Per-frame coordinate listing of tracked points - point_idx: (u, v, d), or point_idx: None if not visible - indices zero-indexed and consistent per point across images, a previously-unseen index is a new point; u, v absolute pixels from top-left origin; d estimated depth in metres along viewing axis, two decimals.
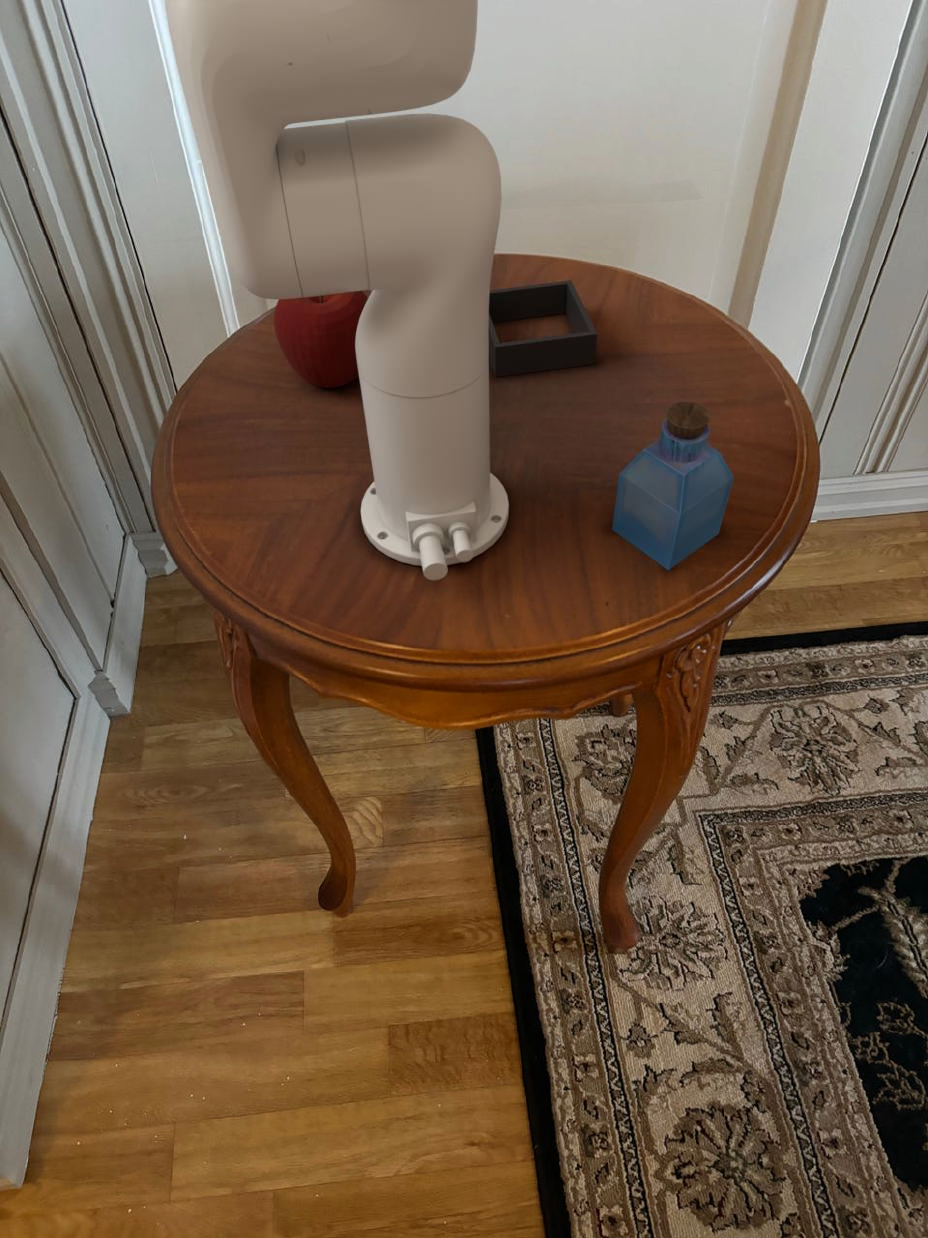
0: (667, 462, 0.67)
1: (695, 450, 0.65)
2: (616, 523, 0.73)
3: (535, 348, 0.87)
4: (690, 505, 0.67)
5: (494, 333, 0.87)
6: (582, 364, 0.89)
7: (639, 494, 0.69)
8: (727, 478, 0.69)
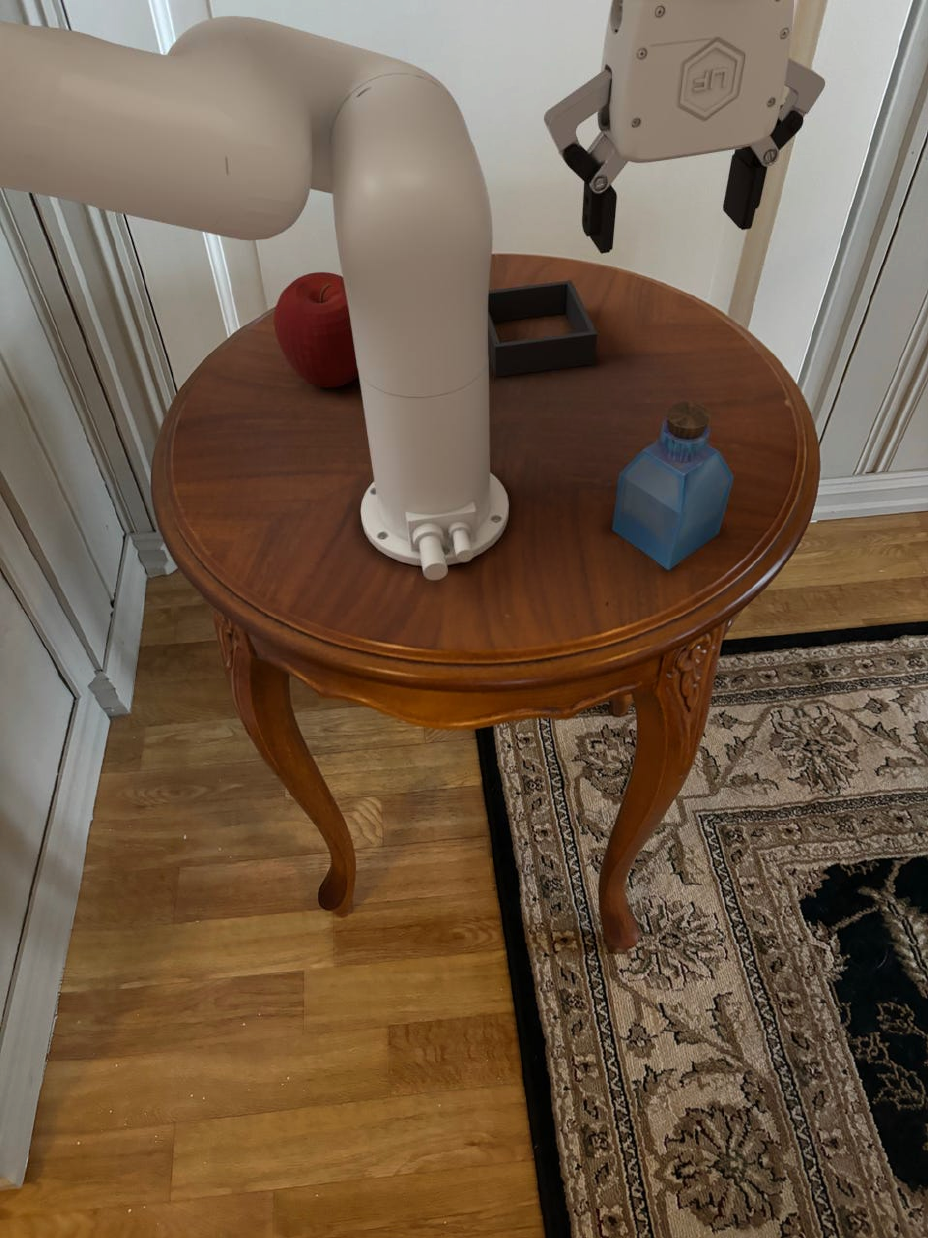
0: (667, 462, 0.67)
1: (695, 450, 0.65)
2: (616, 523, 0.73)
3: (535, 348, 0.87)
4: (690, 505, 0.67)
5: (494, 333, 0.87)
6: (582, 364, 0.89)
7: (639, 495, 0.69)
8: (727, 478, 0.69)
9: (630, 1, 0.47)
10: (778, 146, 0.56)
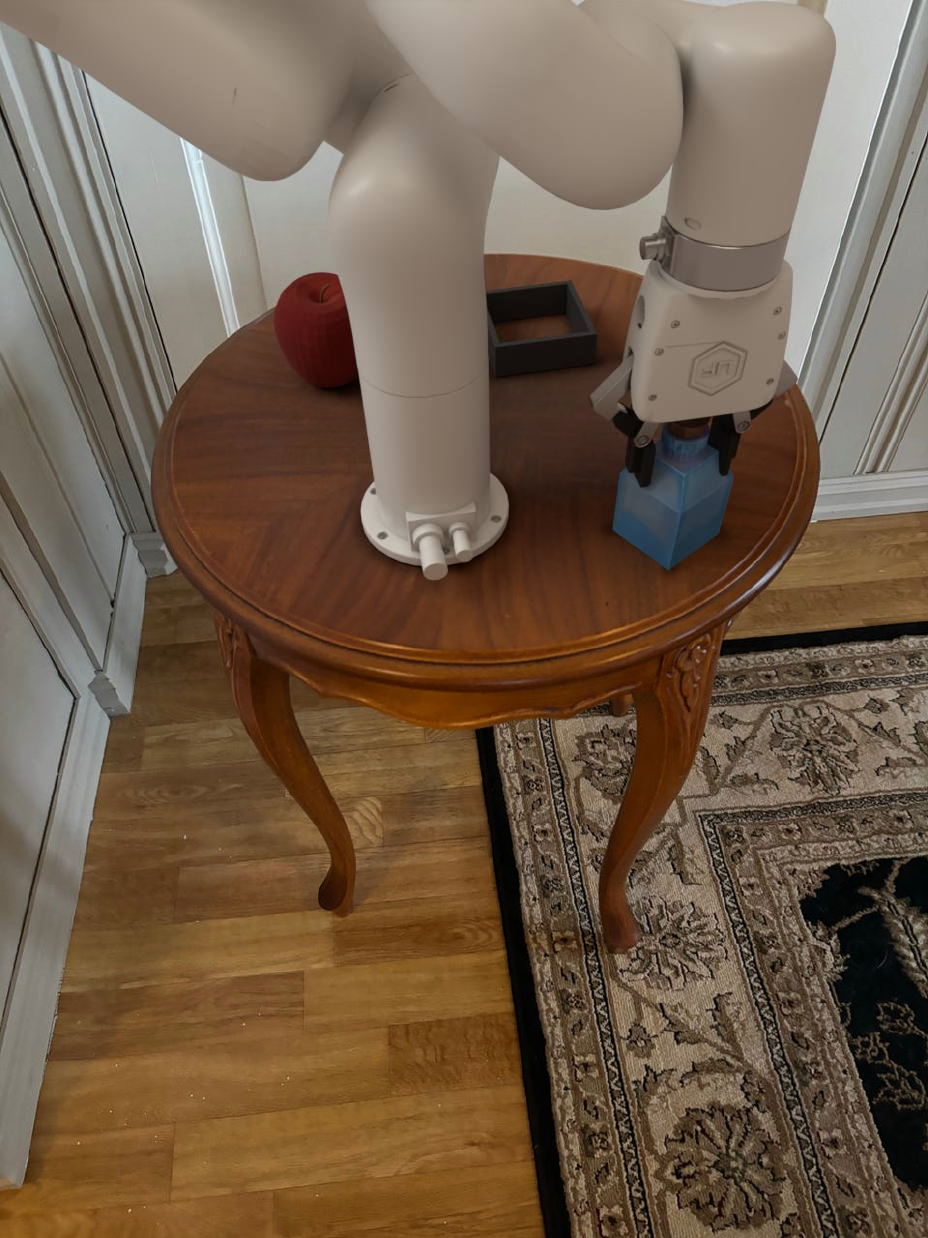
0: (667, 462, 0.67)
1: (695, 450, 0.65)
2: (616, 523, 0.73)
3: (535, 348, 0.87)
4: (691, 505, 0.67)
5: (494, 333, 0.87)
6: (582, 364, 0.89)
7: (639, 494, 0.69)
8: (727, 478, 0.69)
9: (651, 313, 0.56)
10: (751, 417, 0.65)
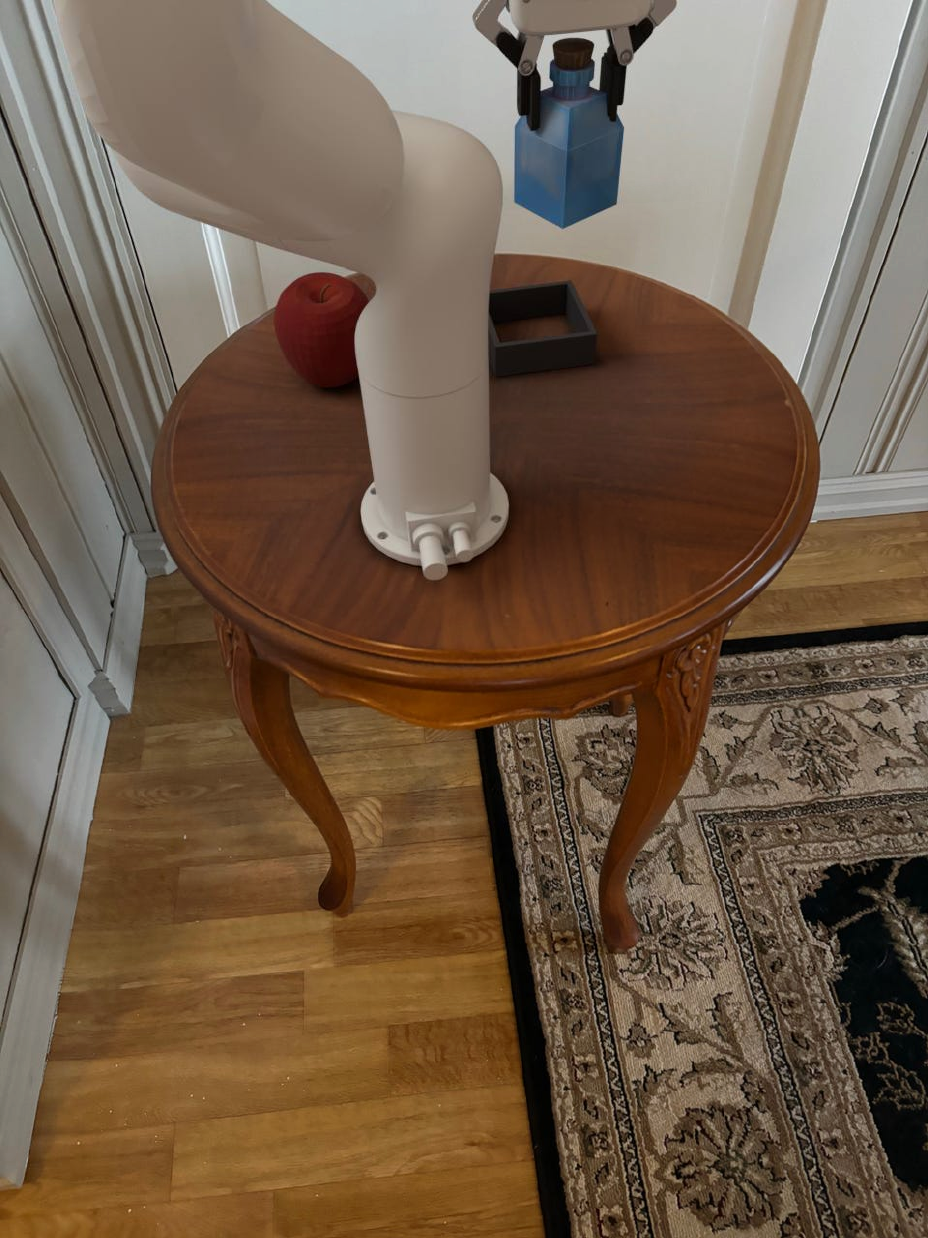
0: (555, 100, 0.69)
1: (580, 82, 0.67)
2: (516, 191, 0.76)
3: (535, 348, 0.87)
4: (578, 144, 0.69)
5: (494, 333, 0.87)
6: (582, 364, 0.89)
7: (532, 145, 0.71)
8: (617, 126, 0.71)
9: None
10: (634, 48, 0.67)
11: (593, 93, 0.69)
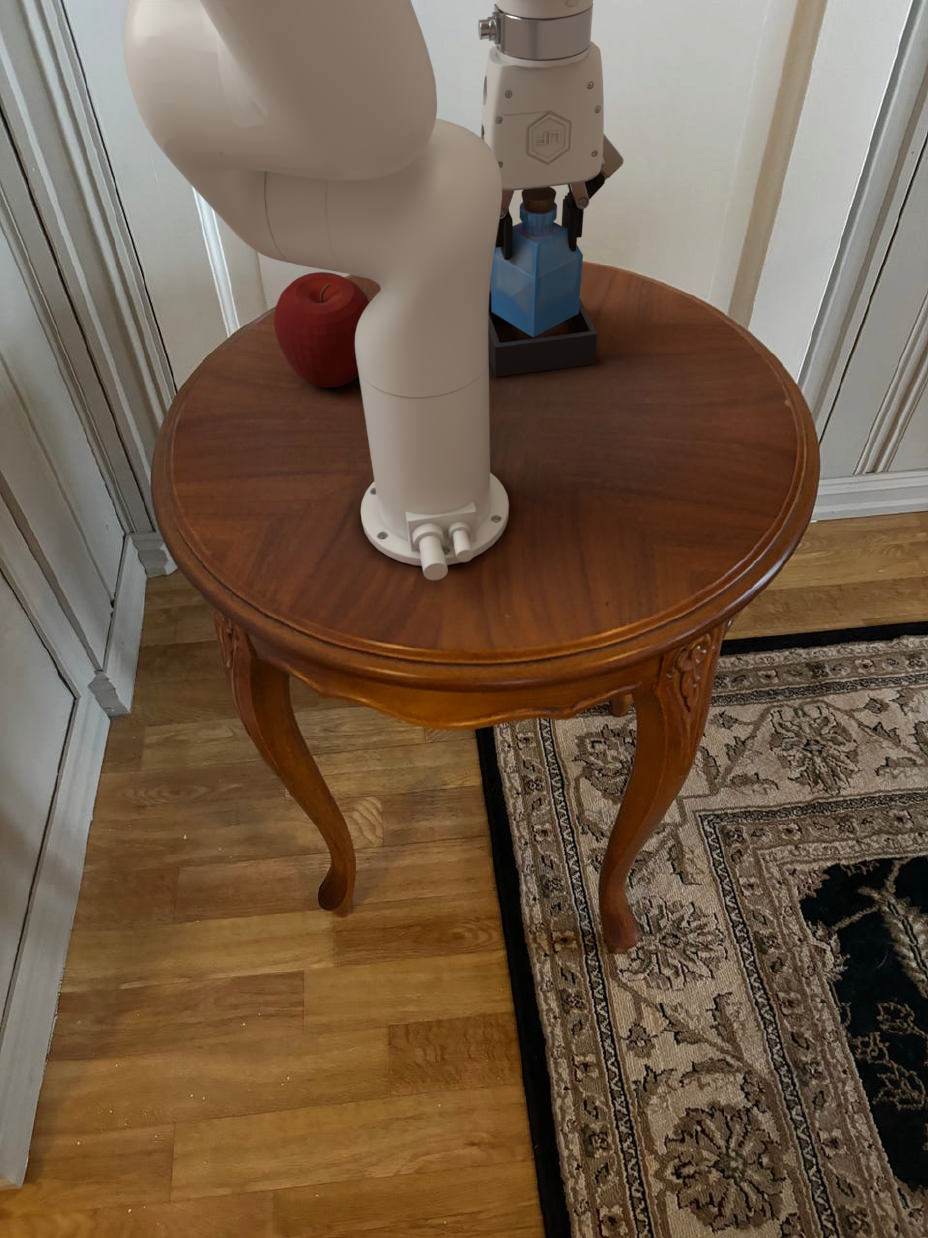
0: (524, 236, 0.82)
1: (545, 223, 0.81)
2: (493, 303, 0.89)
3: (535, 348, 0.87)
4: (544, 272, 0.82)
5: (494, 333, 0.87)
6: (582, 364, 0.89)
7: (506, 269, 0.85)
8: (577, 254, 0.84)
9: (490, 86, 0.71)
10: (589, 195, 0.80)
11: (556, 229, 0.83)
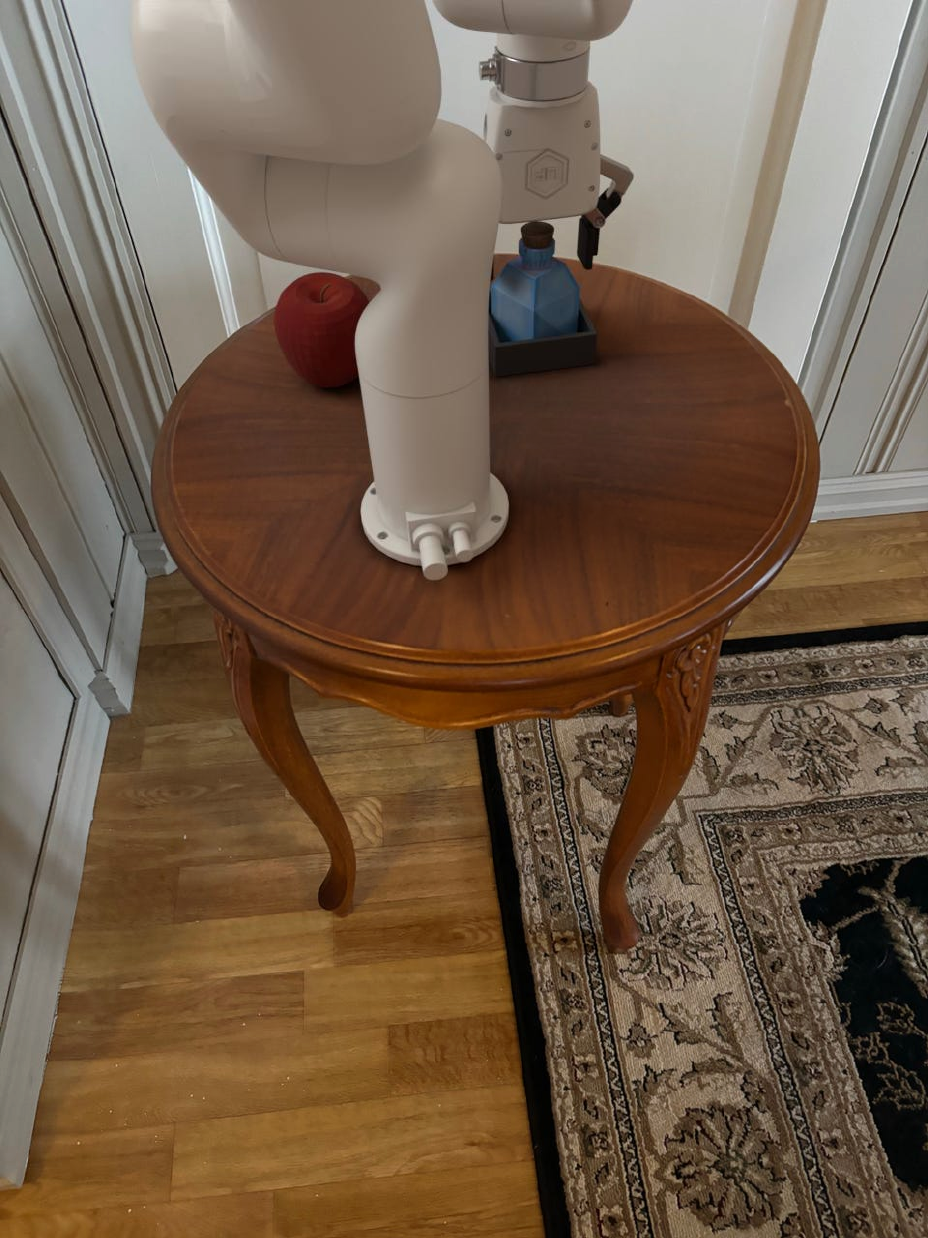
0: (523, 270, 0.85)
1: (543, 258, 0.83)
2: None
3: (535, 348, 0.87)
4: (542, 305, 0.85)
5: (494, 333, 0.87)
6: (582, 364, 0.89)
7: (505, 301, 0.87)
8: (574, 287, 0.87)
9: (490, 124, 0.74)
10: (605, 215, 0.82)
11: (554, 263, 0.85)
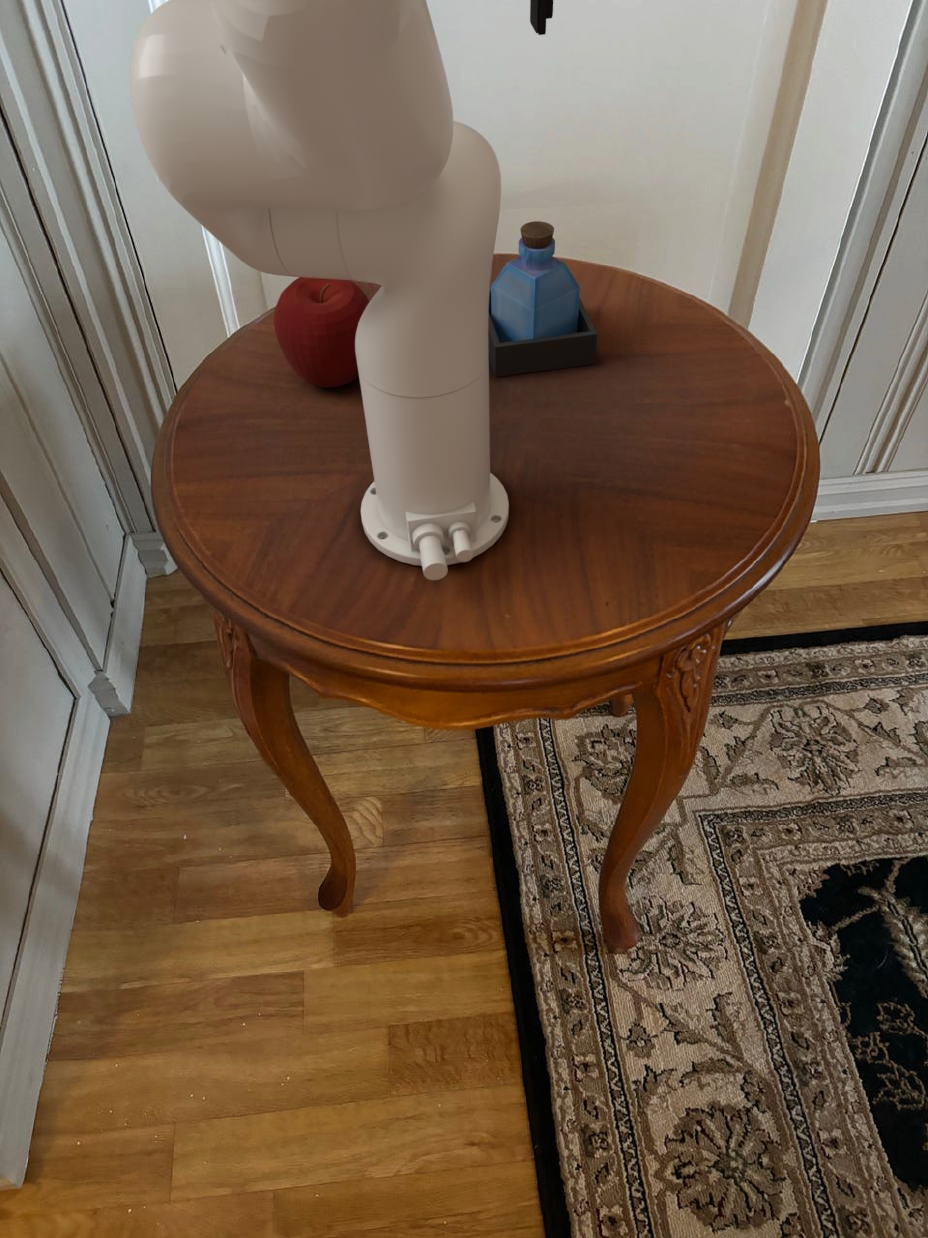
0: (523, 270, 0.85)
1: (543, 258, 0.83)
2: None
3: (535, 348, 0.87)
4: (542, 305, 0.85)
5: (494, 333, 0.87)
6: (582, 364, 0.89)
7: (505, 301, 0.87)
8: (574, 287, 0.87)
9: None
10: None
11: (554, 263, 0.85)
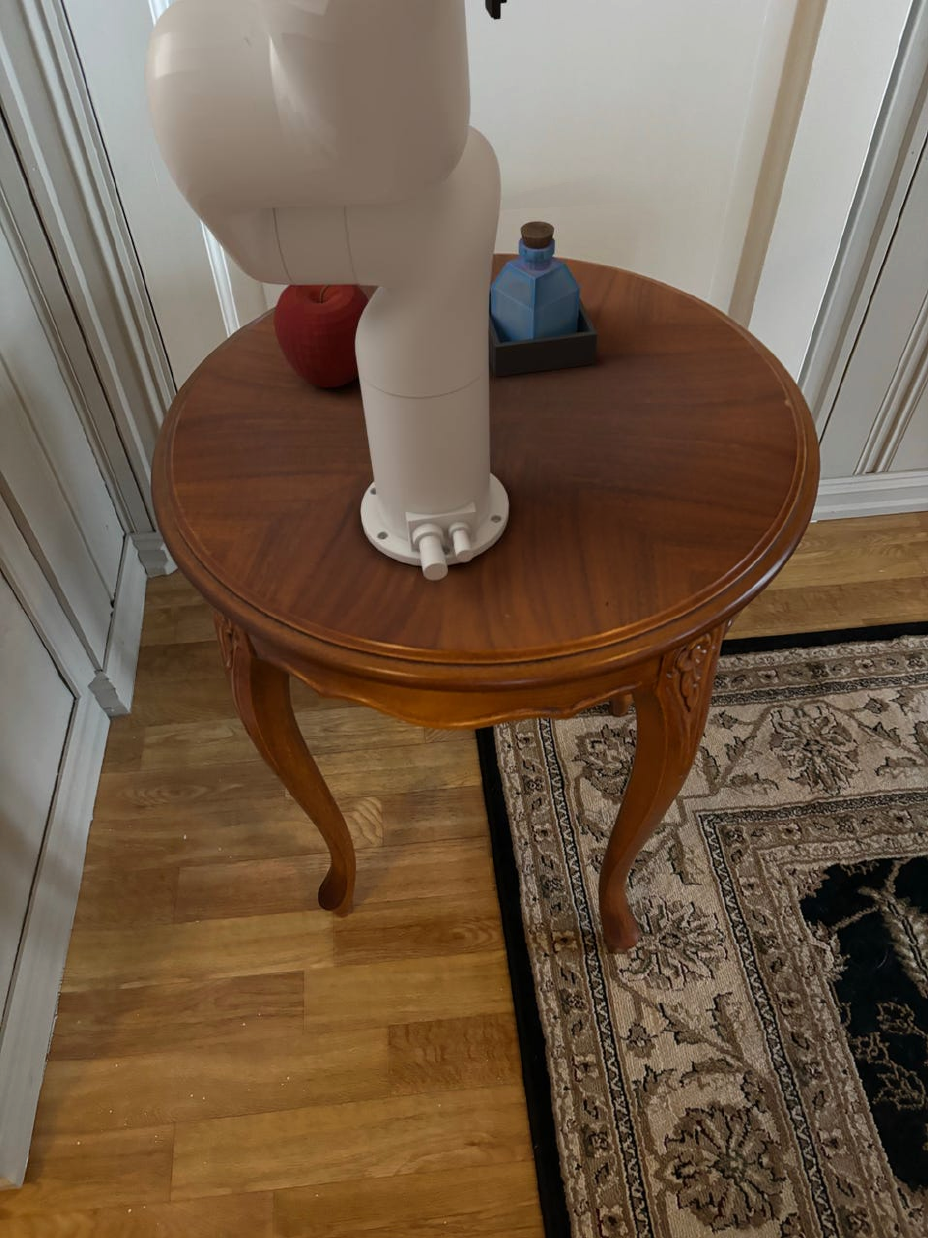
0: (523, 270, 0.85)
1: (543, 258, 0.83)
2: None
3: (535, 348, 0.87)
4: (542, 305, 0.85)
5: (494, 333, 0.87)
6: (582, 364, 0.89)
7: (505, 301, 0.87)
8: (574, 287, 0.87)
9: None
10: None
11: (554, 263, 0.85)
